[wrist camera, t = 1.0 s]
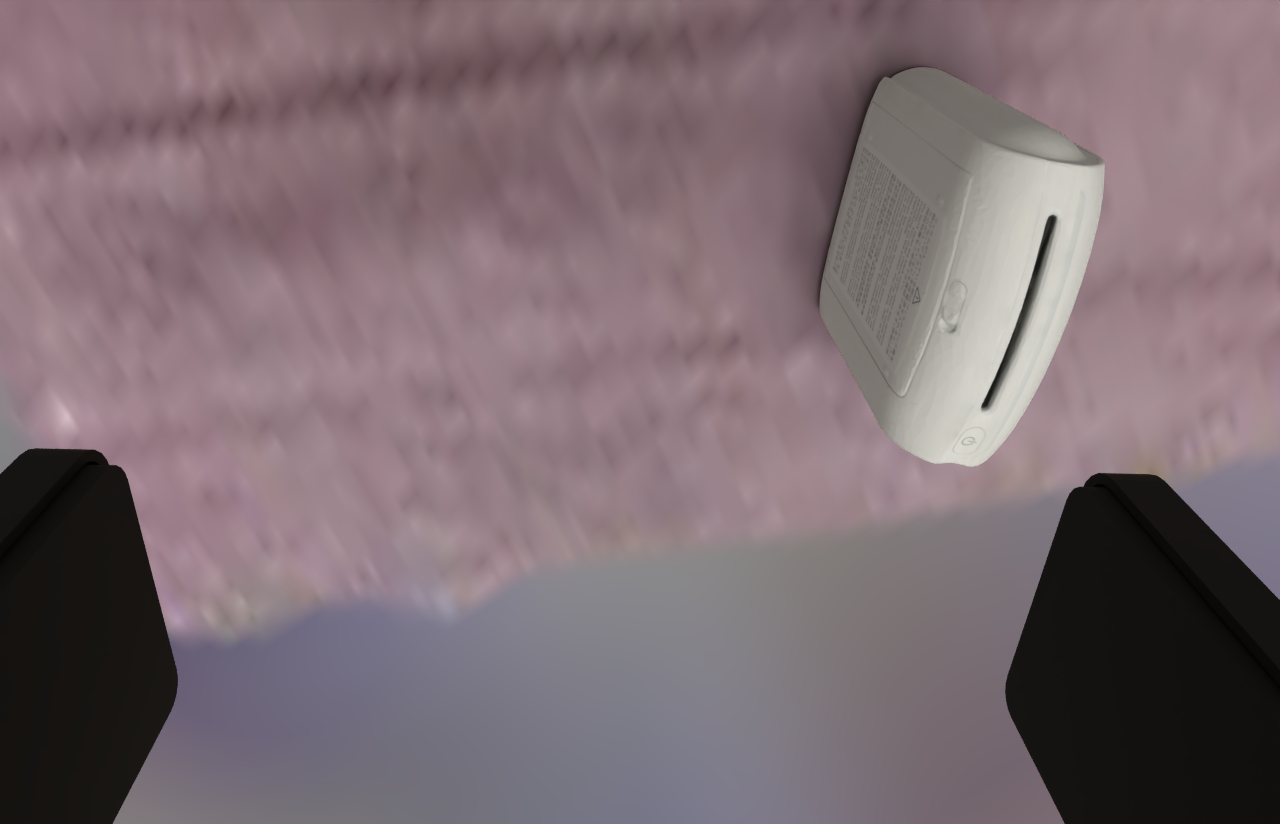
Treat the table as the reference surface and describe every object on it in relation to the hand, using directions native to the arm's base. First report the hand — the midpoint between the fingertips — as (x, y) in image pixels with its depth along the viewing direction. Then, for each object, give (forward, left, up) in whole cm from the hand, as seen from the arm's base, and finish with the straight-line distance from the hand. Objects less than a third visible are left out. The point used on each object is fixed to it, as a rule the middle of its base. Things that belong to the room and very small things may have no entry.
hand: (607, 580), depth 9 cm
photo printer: (-9, +8, -27) cm, 30 cm away
